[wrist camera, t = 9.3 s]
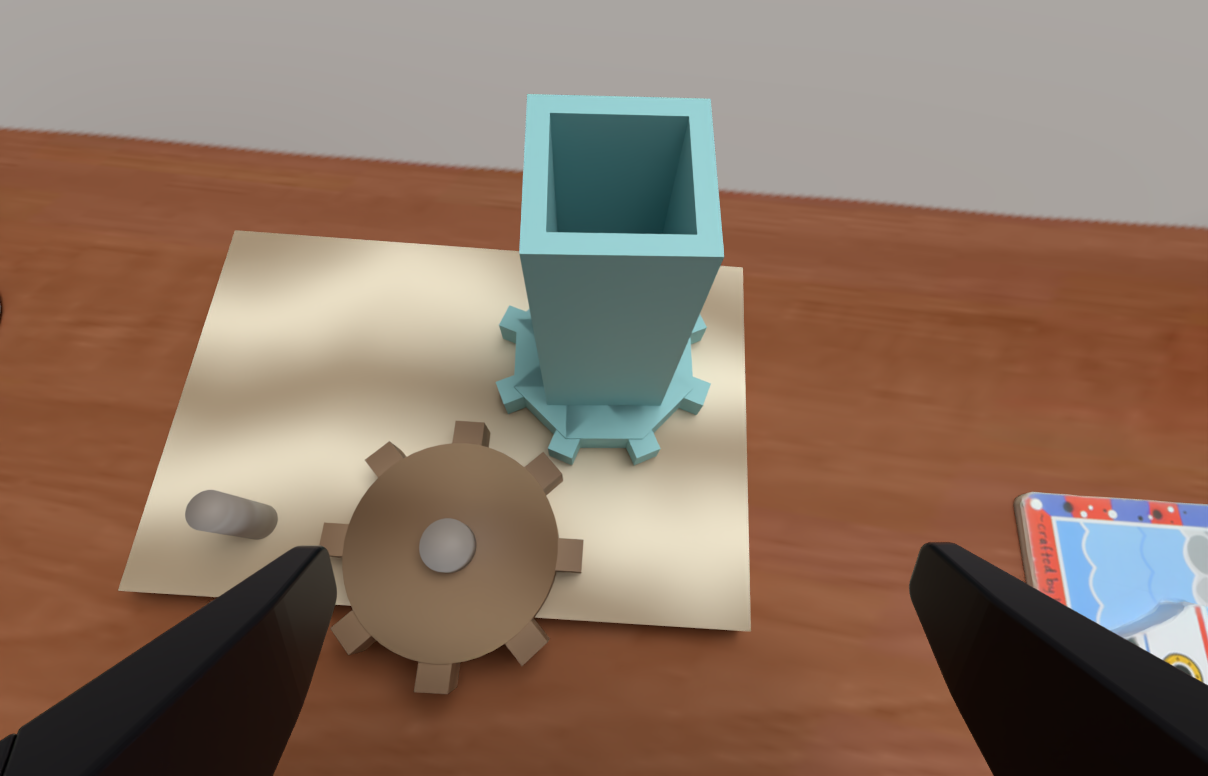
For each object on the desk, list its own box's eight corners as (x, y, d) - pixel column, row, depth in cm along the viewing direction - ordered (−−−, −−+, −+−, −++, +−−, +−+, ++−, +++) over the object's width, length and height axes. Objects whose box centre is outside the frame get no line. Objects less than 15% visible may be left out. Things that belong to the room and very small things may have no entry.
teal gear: (708, 466, 21) (831, 345, 11) (495, 465, 21) (411, 341, 10) (696, 280, 24) (785, 38, 13) (506, 277, 23) (447, 28, 13)
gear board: (740, 697, 20) (783, 725, 16) (129, 658, 20) (4, 677, 15) (733, 285, 25) (764, 224, 21) (254, 250, 25) (188, 181, 21)
